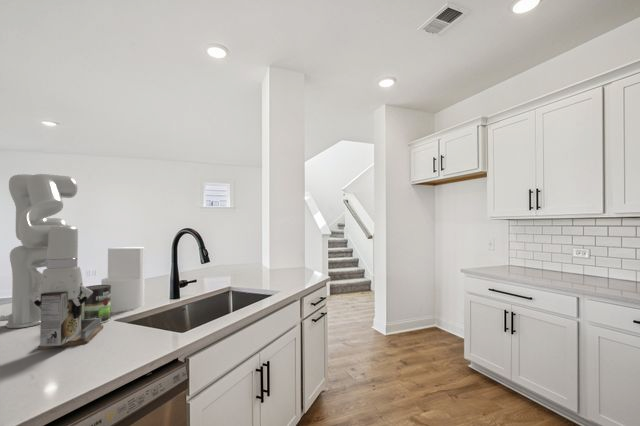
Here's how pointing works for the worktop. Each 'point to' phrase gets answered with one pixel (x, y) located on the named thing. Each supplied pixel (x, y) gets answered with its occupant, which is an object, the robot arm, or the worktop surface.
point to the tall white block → (126, 277)
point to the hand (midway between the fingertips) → (61, 318)
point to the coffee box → (58, 319)
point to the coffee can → (97, 303)
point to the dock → (83, 333)
